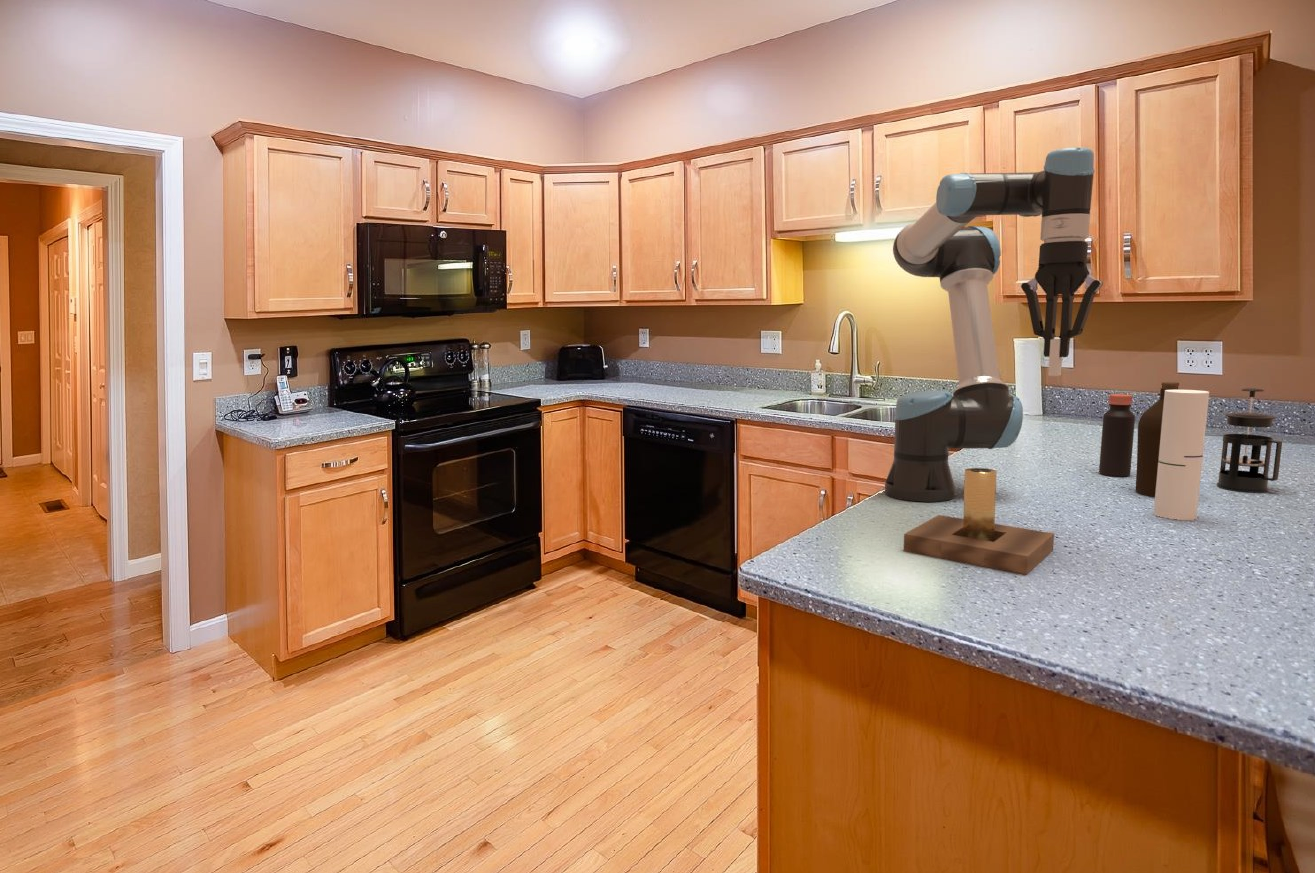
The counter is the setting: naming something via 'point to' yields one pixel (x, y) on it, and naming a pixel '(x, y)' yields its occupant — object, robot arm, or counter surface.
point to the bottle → (1117, 437)
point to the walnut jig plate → (980, 545)
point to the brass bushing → (979, 503)
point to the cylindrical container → (1181, 454)
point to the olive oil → (1150, 444)
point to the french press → (1246, 479)
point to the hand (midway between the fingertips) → (1054, 375)
